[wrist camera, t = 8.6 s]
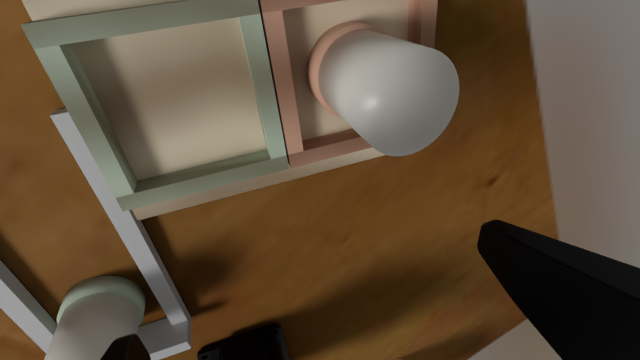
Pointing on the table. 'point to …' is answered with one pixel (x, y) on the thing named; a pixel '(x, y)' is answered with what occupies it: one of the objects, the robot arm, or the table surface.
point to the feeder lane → (158, 335)
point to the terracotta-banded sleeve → (383, 86)
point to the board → (204, 90)
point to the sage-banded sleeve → (96, 317)
